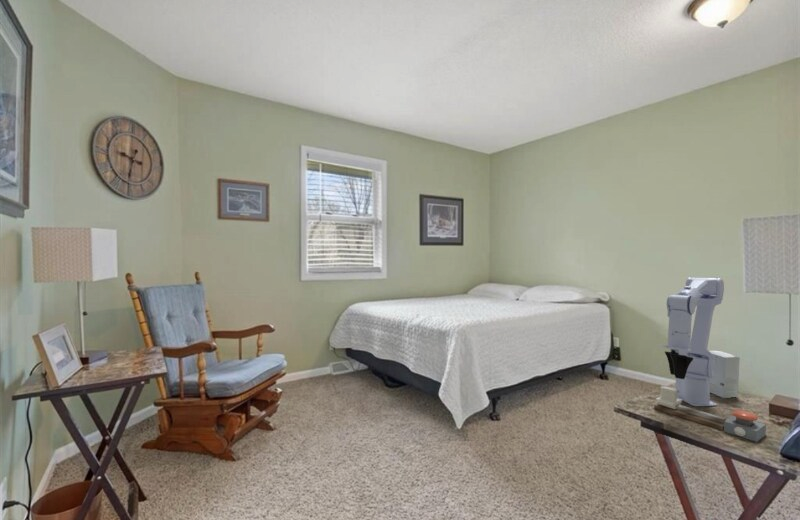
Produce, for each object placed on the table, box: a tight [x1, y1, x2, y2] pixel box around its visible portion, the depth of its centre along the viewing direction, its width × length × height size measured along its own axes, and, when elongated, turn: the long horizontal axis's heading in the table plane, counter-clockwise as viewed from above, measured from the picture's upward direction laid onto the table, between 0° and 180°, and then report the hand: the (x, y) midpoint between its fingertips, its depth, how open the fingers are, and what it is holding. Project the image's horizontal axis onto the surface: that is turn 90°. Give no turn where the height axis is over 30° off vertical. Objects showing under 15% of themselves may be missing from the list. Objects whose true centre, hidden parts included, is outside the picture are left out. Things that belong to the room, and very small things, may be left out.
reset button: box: [732, 409, 758, 427], centre depth 105 cm, size 5×5×3 cm
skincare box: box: [709, 350, 740, 399], centre depth 133 cm, size 8×6×15 cm
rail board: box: [653, 403, 727, 431], centre depth 116 cm, size 18×6×2 cm, turn 31°
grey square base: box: [723, 414, 767, 443], centre depth 105 cm, size 7×7×3 cm
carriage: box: [655, 386, 683, 409], centre depth 121 cm, size 5×6×6 cm
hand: (677, 376), depth 116 cm, fingers open, 7 cm apart
